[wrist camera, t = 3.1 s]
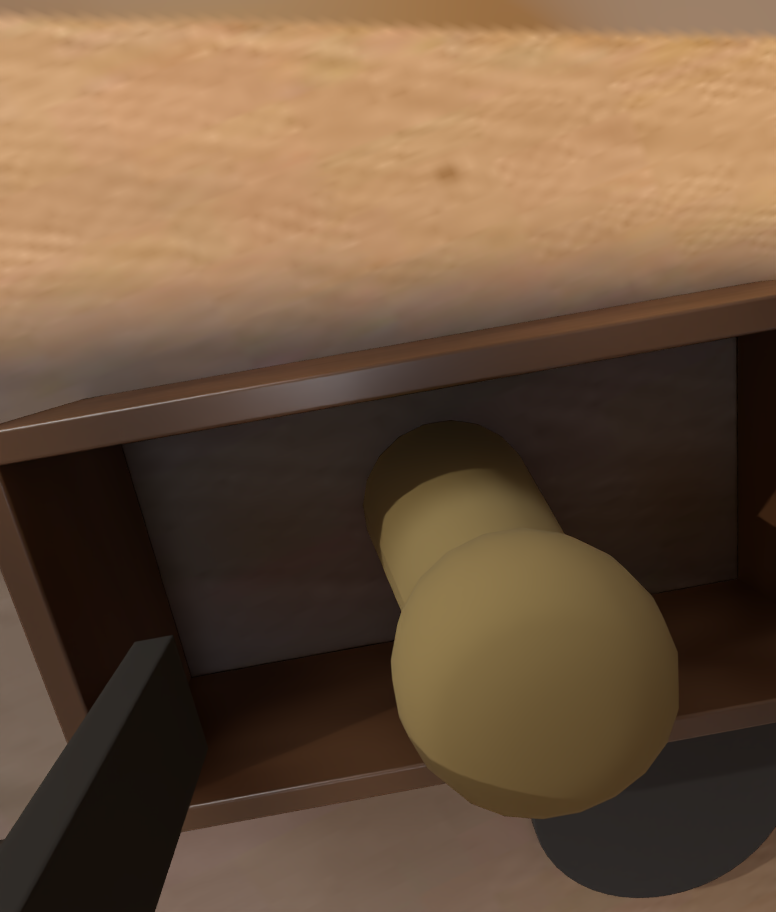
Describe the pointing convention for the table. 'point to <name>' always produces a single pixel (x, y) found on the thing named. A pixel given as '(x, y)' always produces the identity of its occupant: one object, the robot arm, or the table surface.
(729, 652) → the box
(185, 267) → the table surface
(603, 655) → the cork
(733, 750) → the coaster
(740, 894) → the table surface
